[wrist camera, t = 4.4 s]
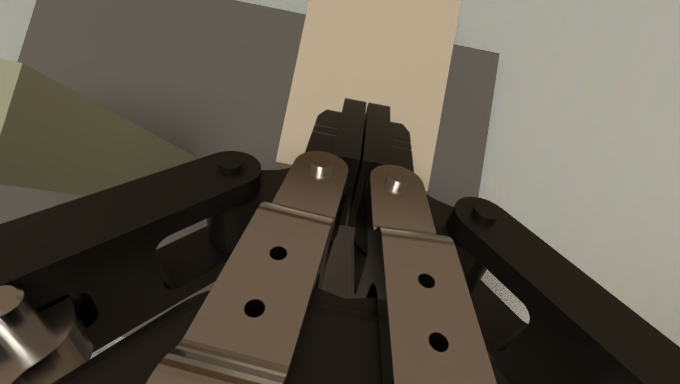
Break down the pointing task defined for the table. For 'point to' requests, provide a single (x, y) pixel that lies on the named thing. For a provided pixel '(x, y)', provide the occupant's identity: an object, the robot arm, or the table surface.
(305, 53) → the plain beige block
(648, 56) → the table surface
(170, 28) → the slate mat
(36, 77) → the one-dot tile
